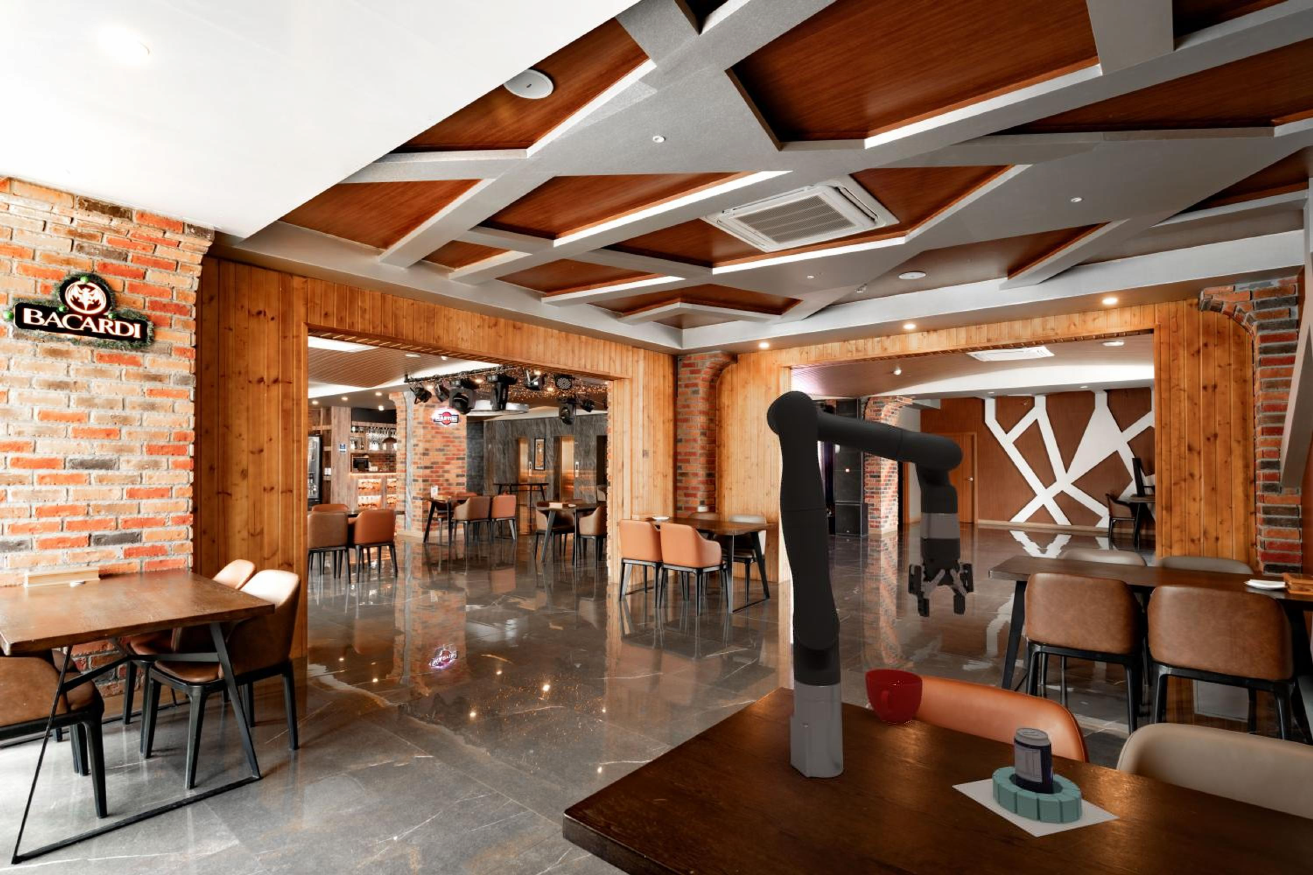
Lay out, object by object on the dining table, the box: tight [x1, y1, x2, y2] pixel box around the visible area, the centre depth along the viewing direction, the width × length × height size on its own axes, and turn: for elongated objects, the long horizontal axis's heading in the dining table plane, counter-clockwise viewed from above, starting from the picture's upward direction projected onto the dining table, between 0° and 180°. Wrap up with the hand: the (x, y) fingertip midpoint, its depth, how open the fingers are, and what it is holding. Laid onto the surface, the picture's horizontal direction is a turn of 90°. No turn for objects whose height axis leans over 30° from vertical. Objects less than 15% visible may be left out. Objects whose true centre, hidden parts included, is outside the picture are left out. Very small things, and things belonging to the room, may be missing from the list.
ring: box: [992, 765, 1082, 824], centre depth 112 cm, size 13×13×4 cm
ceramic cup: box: [864, 668, 924, 725], centre depth 153 cm, size 13×17×10 cm
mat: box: [951, 777, 1120, 838], centre depth 113 cm, size 18×18×1 cm
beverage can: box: [1013, 727, 1054, 794], centre depth 113 cm, size 6×6×12 cm
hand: (941, 615), depth 132 cm, fingers open, 8 cm apart
